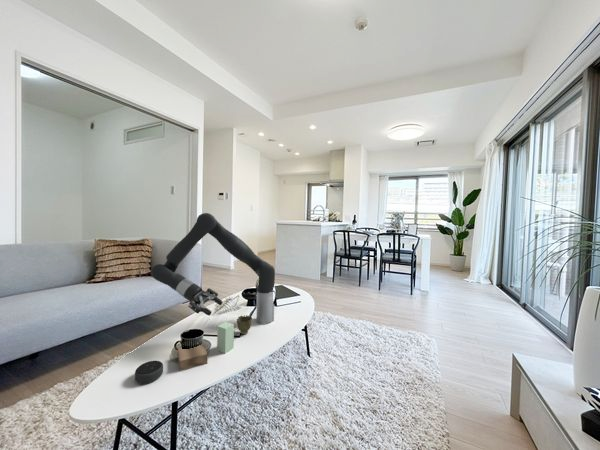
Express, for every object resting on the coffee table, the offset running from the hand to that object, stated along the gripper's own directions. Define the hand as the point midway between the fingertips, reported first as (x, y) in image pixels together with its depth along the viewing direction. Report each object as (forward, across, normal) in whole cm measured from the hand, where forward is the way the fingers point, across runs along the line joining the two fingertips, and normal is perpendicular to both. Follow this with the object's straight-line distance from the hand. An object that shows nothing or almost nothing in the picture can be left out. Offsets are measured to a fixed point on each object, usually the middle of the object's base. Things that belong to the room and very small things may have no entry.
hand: (216, 308), depth 113 cm
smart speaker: (-2, -31, +14) cm, 34 cm away
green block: (+14, -6, +10) cm, 18 cm away
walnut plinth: (+6, -18, +12) cm, 22 cm away
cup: (+16, +9, +13) cm, 22 cm away
